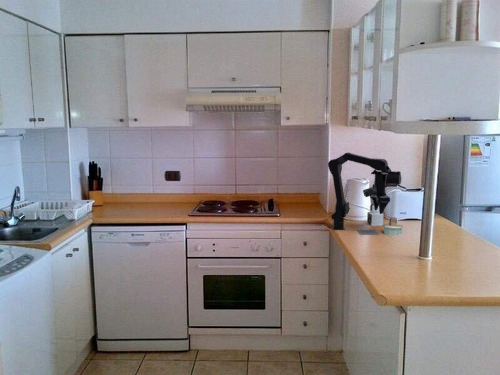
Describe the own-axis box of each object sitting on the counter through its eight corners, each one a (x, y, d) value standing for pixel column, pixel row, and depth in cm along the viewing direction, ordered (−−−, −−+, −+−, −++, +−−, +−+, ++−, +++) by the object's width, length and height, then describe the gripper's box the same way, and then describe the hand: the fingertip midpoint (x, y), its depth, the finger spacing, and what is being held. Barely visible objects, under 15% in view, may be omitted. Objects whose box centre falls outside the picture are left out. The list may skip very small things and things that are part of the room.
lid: (380, 224, 238) (381, 216, 238) (399, 224, 238) (399, 215, 238) (386, 228, 229) (386, 220, 228) (405, 228, 228) (405, 220, 228)
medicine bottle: (367, 223, 258) (367, 203, 256) (378, 223, 259) (379, 203, 257) (371, 226, 251) (371, 205, 249) (383, 226, 252) (383, 205, 250)
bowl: (381, 231, 239) (382, 224, 238) (398, 231, 238) (398, 224, 238) (386, 236, 230) (386, 228, 229) (403, 235, 230) (404, 228, 229)
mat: (356, 230, 241) (356, 230, 241) (374, 230, 241) (374, 229, 241) (360, 235, 232) (360, 234, 232) (379, 235, 231) (379, 234, 231)
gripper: (360, 180, 239) (358, 208, 242) (369, 185, 221) (367, 215, 224) (380, 180, 239) (379, 208, 242) (391, 185, 221) (389, 216, 224)
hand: (378, 211), depth 233 cm, fingers open, 9 cm apart
